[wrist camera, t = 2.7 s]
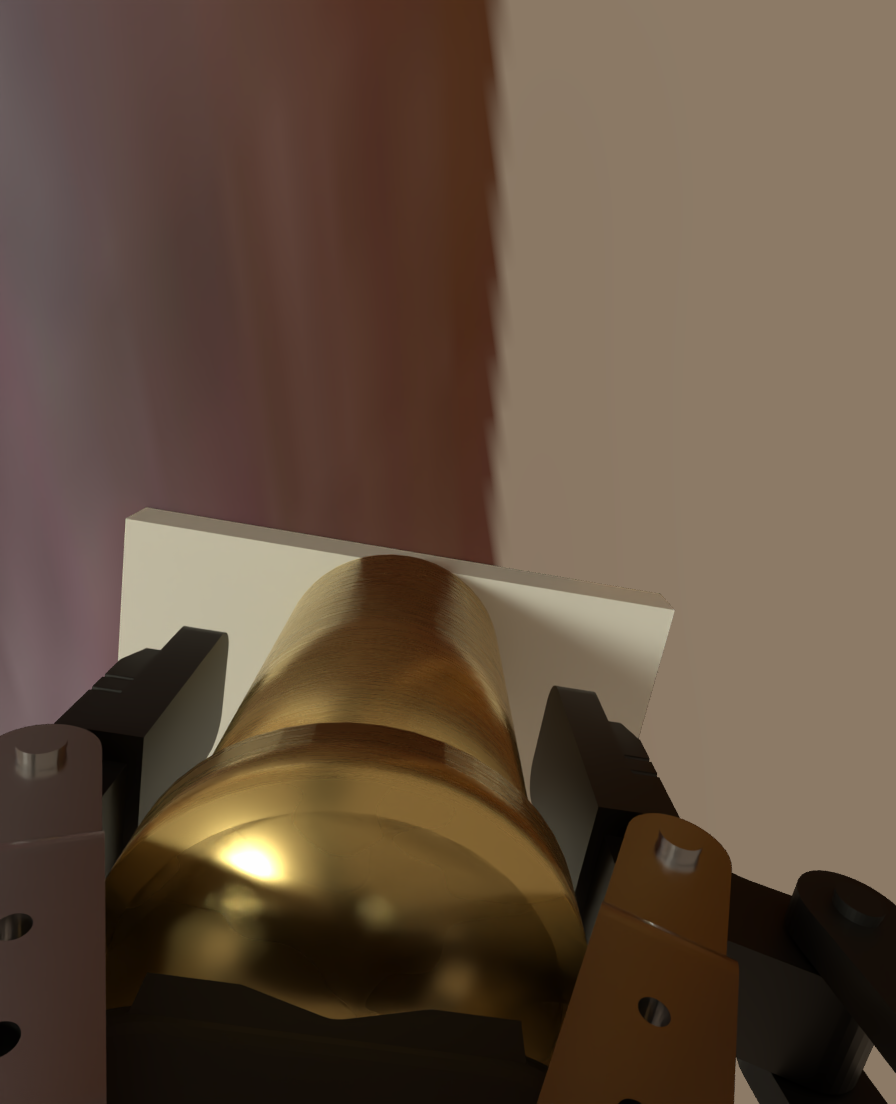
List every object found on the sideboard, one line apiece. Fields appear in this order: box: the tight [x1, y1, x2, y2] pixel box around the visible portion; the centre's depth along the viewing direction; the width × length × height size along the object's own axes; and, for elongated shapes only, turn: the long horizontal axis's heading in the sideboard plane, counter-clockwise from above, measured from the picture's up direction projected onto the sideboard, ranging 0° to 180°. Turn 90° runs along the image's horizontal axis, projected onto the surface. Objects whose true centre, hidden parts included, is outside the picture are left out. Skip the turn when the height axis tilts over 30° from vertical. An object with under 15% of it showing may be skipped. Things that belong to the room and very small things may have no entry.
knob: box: [105, 554, 588, 1067], centre depth 11 cm, size 5×5×8 cm
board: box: [118, 507, 675, 804], centre depth 17 cm, size 20×11×1 cm, turn 170°
